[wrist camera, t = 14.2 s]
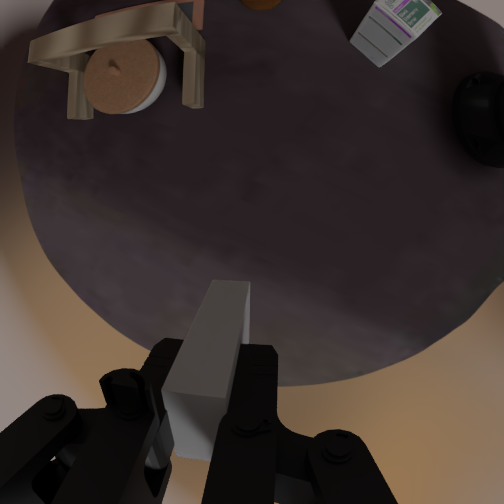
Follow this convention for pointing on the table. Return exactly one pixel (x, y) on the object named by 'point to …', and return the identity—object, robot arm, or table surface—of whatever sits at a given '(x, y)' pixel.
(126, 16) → the tunnel
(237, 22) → the table surface
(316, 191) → the table surface
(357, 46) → the syrup box
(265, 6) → the disposable coffee cup
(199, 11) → the framed chalkboard
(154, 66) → the lidded jar
